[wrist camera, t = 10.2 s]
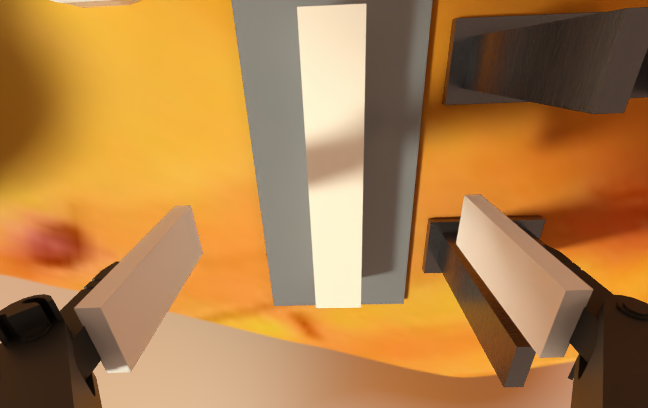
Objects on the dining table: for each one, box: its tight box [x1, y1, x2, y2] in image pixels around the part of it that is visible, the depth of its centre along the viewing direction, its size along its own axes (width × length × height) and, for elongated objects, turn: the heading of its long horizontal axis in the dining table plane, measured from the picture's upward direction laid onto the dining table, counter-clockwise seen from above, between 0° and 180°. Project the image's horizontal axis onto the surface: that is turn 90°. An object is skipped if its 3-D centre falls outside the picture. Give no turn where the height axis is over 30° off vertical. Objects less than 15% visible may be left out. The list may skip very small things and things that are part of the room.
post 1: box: [442, 7, 648, 114], centre depth 15 cm, size 9×5×12 cm, turn 92°
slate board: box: [231, 0, 433, 306], centre depth 23 cm, size 12×26×1 cm, turn 2°
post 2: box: [422, 216, 546, 387], centre depth 21 cm, size 9×5×12 cm, turn 92°
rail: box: [297, 4, 366, 308], centre depth 21 cm, size 4×20×4 cm, turn 2°
